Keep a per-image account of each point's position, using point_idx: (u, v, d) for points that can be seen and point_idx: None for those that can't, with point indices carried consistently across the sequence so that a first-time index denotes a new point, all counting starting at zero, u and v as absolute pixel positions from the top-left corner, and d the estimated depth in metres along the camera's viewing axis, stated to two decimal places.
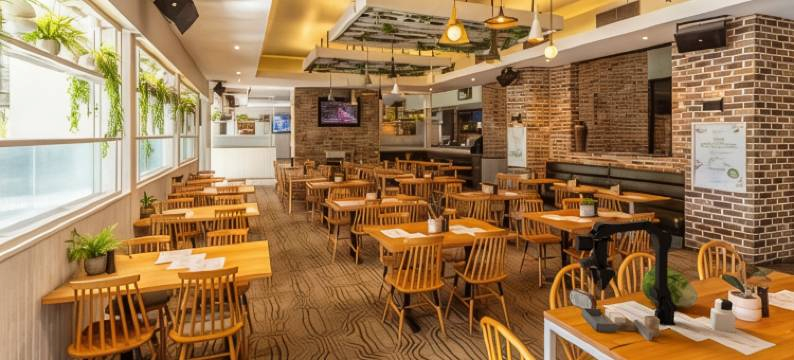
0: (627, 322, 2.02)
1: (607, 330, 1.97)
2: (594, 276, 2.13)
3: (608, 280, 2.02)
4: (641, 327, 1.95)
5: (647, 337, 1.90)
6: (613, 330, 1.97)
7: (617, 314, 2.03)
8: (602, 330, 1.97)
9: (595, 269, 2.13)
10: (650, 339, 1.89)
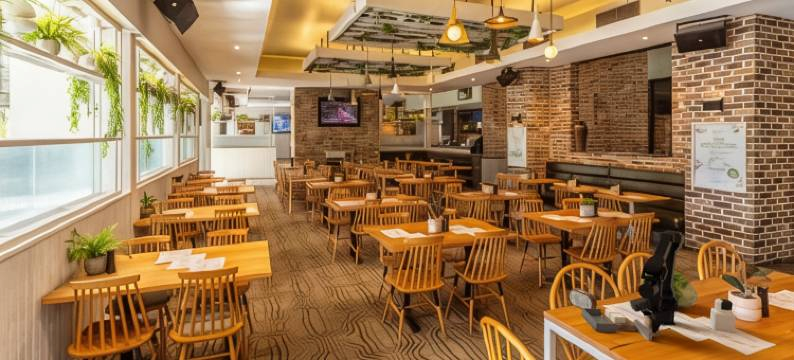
0: (627, 322, 2.02)
1: (607, 330, 1.97)
2: None
3: (660, 322, 1.91)
4: (641, 327, 1.95)
5: (647, 337, 1.90)
6: (613, 330, 1.97)
7: (617, 314, 2.03)
8: (602, 330, 1.97)
9: (649, 312, 1.97)
10: (650, 339, 1.89)
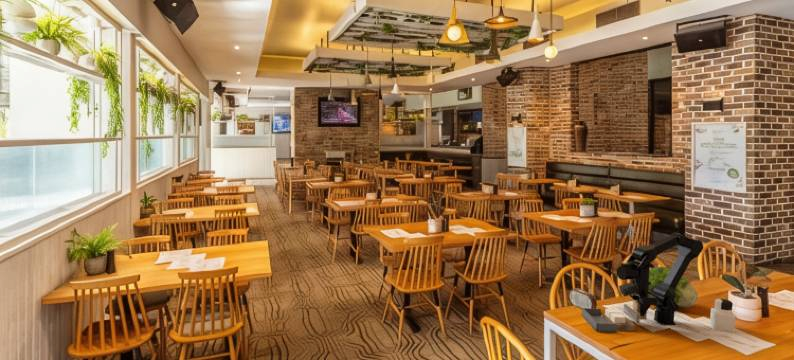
0: (627, 322, 2.02)
1: (607, 330, 1.97)
2: None
3: (648, 306, 2.01)
4: (629, 311, 2.05)
5: (635, 320, 2.00)
6: (613, 330, 1.97)
7: (617, 314, 2.03)
8: (602, 330, 1.97)
9: (637, 297, 2.07)
10: (638, 322, 1.99)
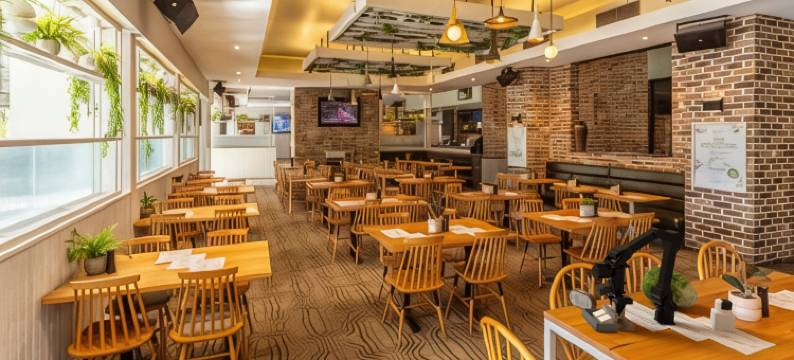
0: (627, 322, 2.02)
1: (607, 330, 1.97)
2: None
3: (623, 306, 2.01)
4: (608, 310, 2.06)
5: (613, 319, 2.00)
6: (613, 330, 1.97)
7: (604, 317, 2.03)
8: (602, 330, 1.97)
9: (614, 297, 2.08)
10: (616, 321, 1.99)
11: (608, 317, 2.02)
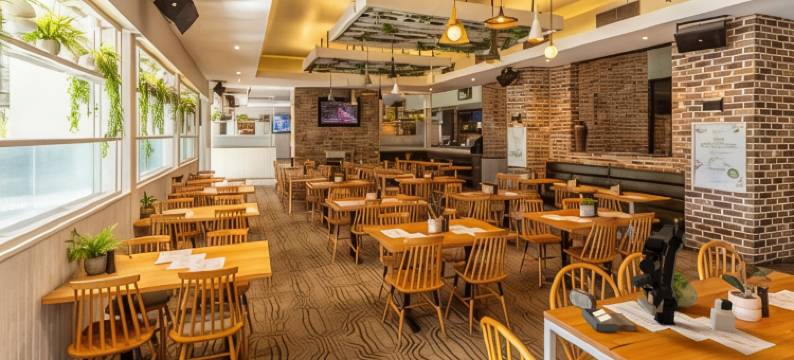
0: (627, 322, 2.02)
1: (607, 330, 1.97)
2: None
3: (661, 298, 1.90)
4: (645, 302, 1.95)
5: (651, 312, 1.89)
6: (613, 330, 1.97)
7: (604, 317, 2.03)
8: (602, 330, 1.97)
9: (650, 289, 1.97)
10: (654, 314, 1.88)
11: (608, 317, 2.02)
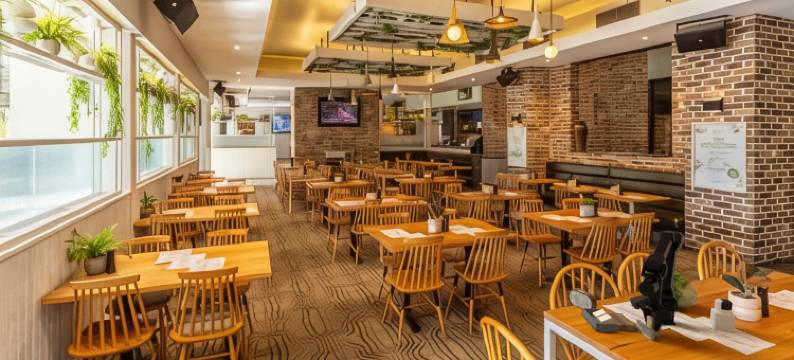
0: (627, 322, 2.02)
1: (607, 330, 1.97)
2: (646, 316, 1.99)
3: (662, 321, 1.90)
4: (643, 327, 1.95)
5: (649, 337, 1.90)
6: (613, 330, 1.97)
7: (604, 317, 2.03)
8: (602, 330, 1.97)
9: (647, 309, 1.99)
10: (652, 339, 1.89)
11: (608, 317, 2.02)
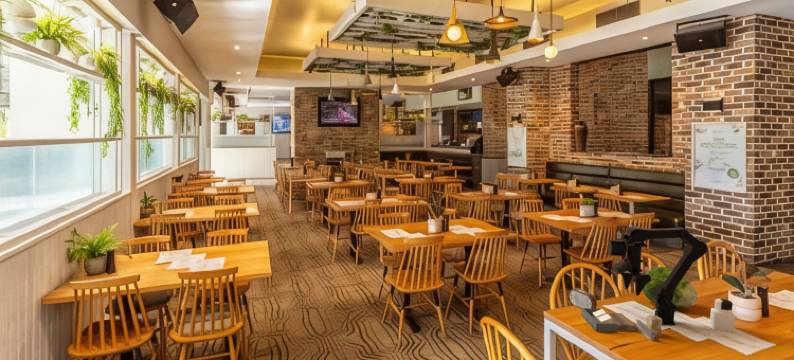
0: (627, 322, 2.02)
1: (607, 330, 1.97)
2: (626, 281, 2.14)
3: (643, 285, 2.03)
4: (643, 327, 1.95)
5: (649, 337, 1.90)
6: (613, 330, 1.97)
7: (604, 317, 2.03)
8: (602, 330, 1.97)
9: (627, 274, 2.14)
10: (652, 339, 1.89)
11: (608, 317, 2.02)
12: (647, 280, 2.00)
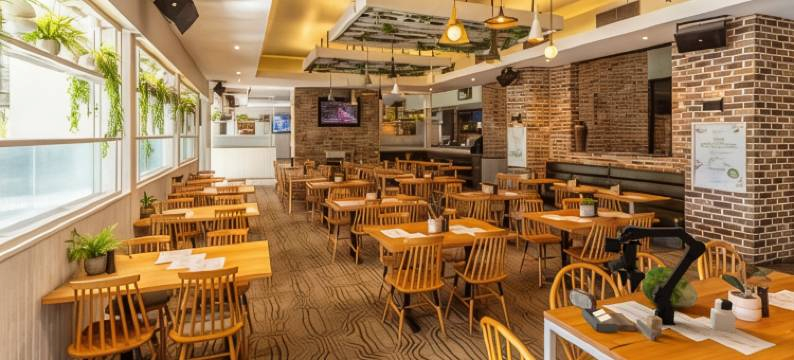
0: (627, 322, 2.02)
1: (607, 330, 1.97)
2: (622, 278, 2.18)
3: (638, 282, 2.07)
4: (643, 327, 1.95)
5: (649, 337, 1.90)
6: (613, 330, 1.97)
7: (604, 317, 2.03)
8: (602, 330, 1.97)
9: (623, 272, 2.18)
10: (652, 339, 1.89)
11: (608, 317, 2.02)
12: (641, 277, 2.03)
